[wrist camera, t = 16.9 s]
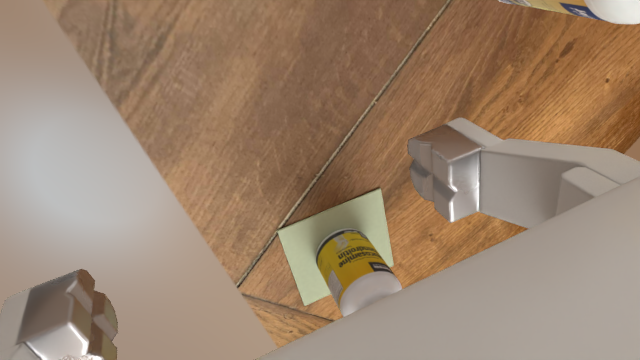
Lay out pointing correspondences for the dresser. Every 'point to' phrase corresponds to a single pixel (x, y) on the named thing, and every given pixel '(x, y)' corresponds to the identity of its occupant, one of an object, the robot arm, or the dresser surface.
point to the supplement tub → (590, 8)
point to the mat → (312, 231)
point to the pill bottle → (354, 270)
